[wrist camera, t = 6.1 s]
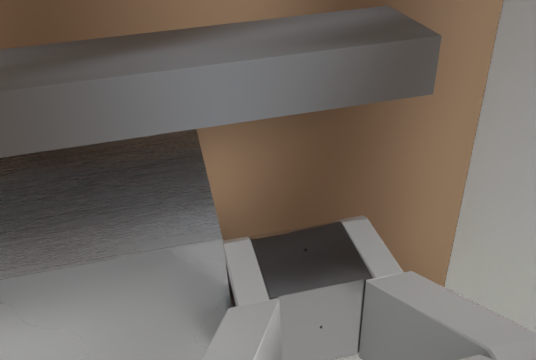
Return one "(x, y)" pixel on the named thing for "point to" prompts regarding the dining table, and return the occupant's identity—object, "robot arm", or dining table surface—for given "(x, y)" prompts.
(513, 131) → the dining table surface
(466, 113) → the bench
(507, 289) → the dining table surface
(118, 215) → the gauge plunger
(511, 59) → the dining table surface
